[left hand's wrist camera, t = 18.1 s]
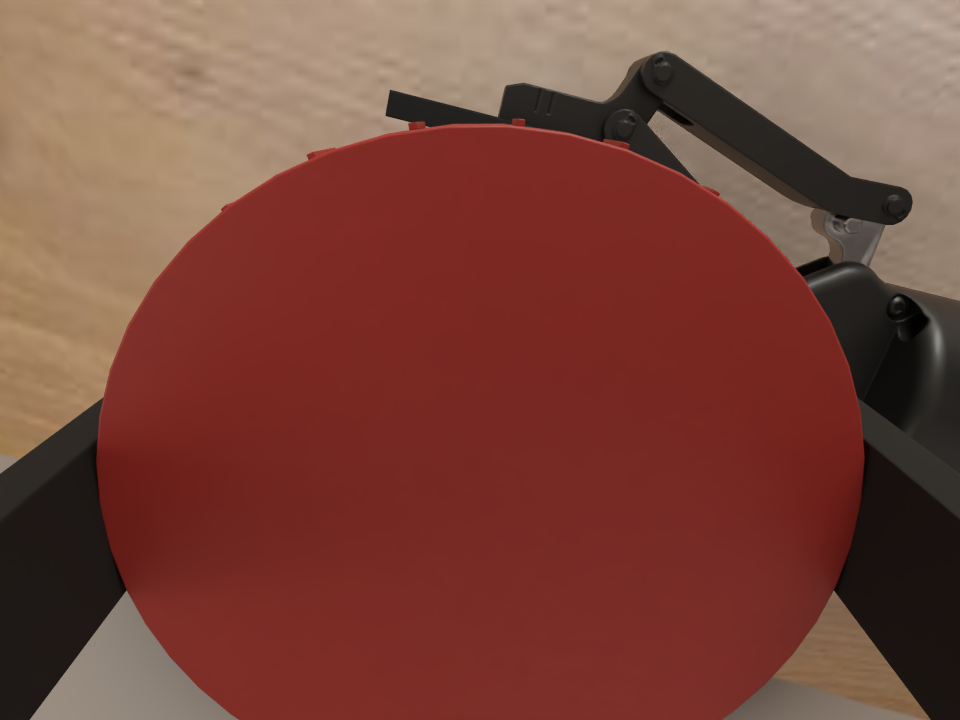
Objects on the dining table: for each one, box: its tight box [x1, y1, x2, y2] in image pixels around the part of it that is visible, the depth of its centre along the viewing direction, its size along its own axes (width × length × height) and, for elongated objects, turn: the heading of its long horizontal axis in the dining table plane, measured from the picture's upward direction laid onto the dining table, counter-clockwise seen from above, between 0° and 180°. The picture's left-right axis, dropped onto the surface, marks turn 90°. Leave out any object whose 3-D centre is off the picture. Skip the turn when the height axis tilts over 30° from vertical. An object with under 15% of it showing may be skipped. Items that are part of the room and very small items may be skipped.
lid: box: [96, 119, 864, 720], centre depth 11 cm, size 12×12×2 cm
